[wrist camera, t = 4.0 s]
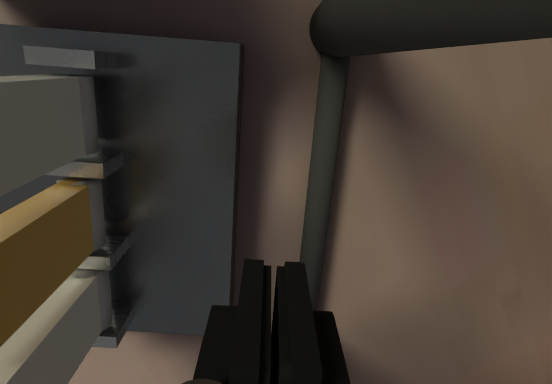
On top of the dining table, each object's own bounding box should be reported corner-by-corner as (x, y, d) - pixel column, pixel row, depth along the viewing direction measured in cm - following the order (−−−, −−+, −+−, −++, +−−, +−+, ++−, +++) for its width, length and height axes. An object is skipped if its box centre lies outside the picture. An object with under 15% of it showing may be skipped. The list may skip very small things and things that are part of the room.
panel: (244, 45, 17) (234, 39, 13) (232, 312, 21) (223, 366, 17) (-33, 23, 16) (-127, 11, 13) (15, 298, 21) (-43, 351, 17)
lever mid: (108, 176, 16) (-30, 269, 9) (112, 236, 17) (-10, 366, 10) (69, 173, 16) (-102, 264, 9) (76, 234, 17) (-74, 362, 9)
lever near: (100, 76, 14) (-69, 88, 7) (106, 147, 15) (-41, 220, 8) (58, 73, 14) (-154, 82, 7) (66, 145, 15) (-116, 215, 8)
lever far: (114, 260, 17) (-2, 402, 10) (118, 312, 18) (14, 476, 11) (78, 258, 17) (-64, 398, 10) (84, 310, 18) (-42, 473, 11)
